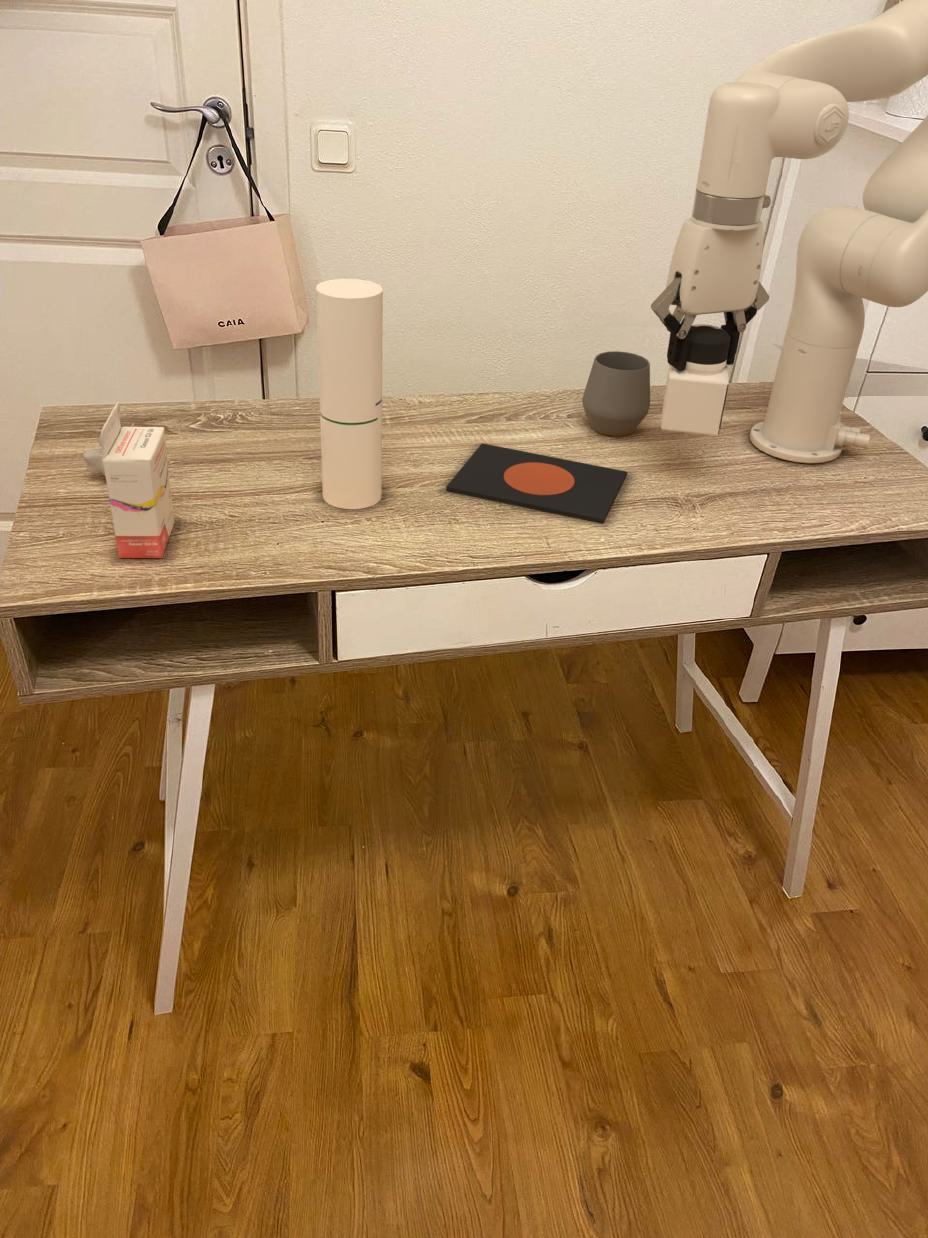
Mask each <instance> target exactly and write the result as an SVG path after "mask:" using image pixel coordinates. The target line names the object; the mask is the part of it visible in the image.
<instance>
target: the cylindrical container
mask: <svg viewBox="0 0 928 1238" xmlns="http://www.w3.org/2000/svg"><path fill="white" fill-rule="evenodd" d="M315 293H316V294H315V296H316V298H315V299H316V325H317V326H316V327H317V331H316V332H317V359H318V361H317V363H318V393H319V395H318V396H319V397H318V398H319V423H320V424H319V425H320V427H319V428H320V453H321V454H320V455H321V457H320V458H321V484H322V485H321V486H322V487H321V489H322V498H323V500H324V502H325V503H327V504H328V505H329V506H332V507H335V508H338V509H343V510H360V509H366V508H369V507H372V506H375V505H376V504H378V503H379V502H380V501H381V499H382V494H383V493H382V485H383V483H382V478H383V477H382V476H383V475H382V473H383V472H382V471H383V469H382V467H383V466H382V465H383V464H382V463H383V459H382V457H383V456H382V455H383V320H384V319H383V318H384V316H383V315H384V314H383V311H384V310H383V309H384V307H383V306H384V304H383V303H384V301H383V300H384V298H383V297H384V290H383V286H381V285H380V284H379V283H376V282H374V281H371V280H366V279H359V278H334V279H329V280H325V281H321V282H319V283H318V284H317V285H316V287H315Z"/></svg>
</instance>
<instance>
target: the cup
mask: <svg viewBox="0 0 928 1238" xmlns="http://www.w3.org/2000/svg"><path fill="white" fill-rule="evenodd" d="M581 402H582V407H583V411H584V413H585V415H586V417H587V420H588V423H589V426H590V428H591V429H593V430H594V431H595V432H597V433H599V434H602V435H606V436H609V437H610V436H612V437H621V436H622V437H623V436H628V435H630V434H632V433H633V432H635V431H636V430H637V428H638V427H639V426H640V425H641V423H642V422H643V421H644V419H645V418H646V417H647V416H648V413H649V410H650V407H651V364H650V361H649V360H648V359H647V358H645V357H644V356H642V355H640V354H636V353H633V352H628V351H618V350H615V351H614V350H613V351H612V350H611V351H604V352H600V353H598V354H596V355H595V357H594V359H593V362H592V366H591V369H590V372H589V375H588V378H587V383H586V385H585V389H584V392H583V395H582V401H581Z"/></svg>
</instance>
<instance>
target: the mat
mask: <svg viewBox="0 0 928 1238" xmlns="http://www.w3.org/2000/svg"><path fill="white" fill-rule="evenodd" d="M627 476H628V471H626V470H621V469H615V468H610V467H605V466H600V465H594V464H589V463H585V462H580V461H575V460H569V459H565V458H559V457H553V456H549V455H544V454H538V453H535V452H534V453H533V452H528V451H523V450H517V449H514V448H508V447H503V446H498V445H492V444H487V443H480V445H479V446H478V447H477V449H476V450H475V451H474V452H473V453H472V455H471V456H470V457H469V458H468V460H467V461H465V463H464V464H463V465H462V467H461V468H460V469H459V470H458V472H457V473H456V474H455V475H454V477H453V478H452V479H451V480H450V481H449V483H447V485H446V486H445V491H446V492H450V493H455V494H459V495H460V494H461V495H466V496H470V497H474V498H479V499H484V500H489V501H493V502H498V503H502V504H503V503H504V504H508V505H513V506H517V507H522V508H527V509H531V510H536V511H542V512H546V513H550V514H555V515H559V516H565V517H571V518H574V519H579V520H584V521H588V522H594V523H598V524H604V522H605V521H606V518H607V517H608V514H609V512H610V511H611V509H612V506H613V505H614V502H615V500H616V498H617V496H618V494H619V492H620V491H621V488H622V486H623V484H624V482H625V480H626V479H627Z"/></svg>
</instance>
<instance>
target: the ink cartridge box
mask: <svg viewBox="0 0 928 1238" xmlns="http://www.w3.org/2000/svg"><path fill="white" fill-rule="evenodd" d="M120 405H121V404H120V401H116V404H115V405H114V407H113V409H112V410H111V412H110V414H109V415H108V417H107V419H106V420H105V422H104V425H103V426H102V428H101V432H100V434H101V437H102V446H101V449H102V453H103V465H104V471H105V476H104V477H105V482H106V487H107V488H106V489H107V494H108V500H109V507H110V513H111V518H112V524H113V530H114V537H115V541H116V548H117V553H118V558H119V559H163V558H164V554H165V551H166V549H167V545H168V542H169V539H170V537H171V534H172V530H173V527H174V525H175V515H174V509H173V508H174V507H173V506H174V505H173V498H172V497H173V496H172V490H171V480H170V471H169V461H168V454H167V453H168V452H167V443H166V433H165V427H163V426H121V425H122V424H121V406H120ZM113 422H114V426H113V429H112V430H111V432H110V434H109V430H110V428H111V423H113Z"/></svg>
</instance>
